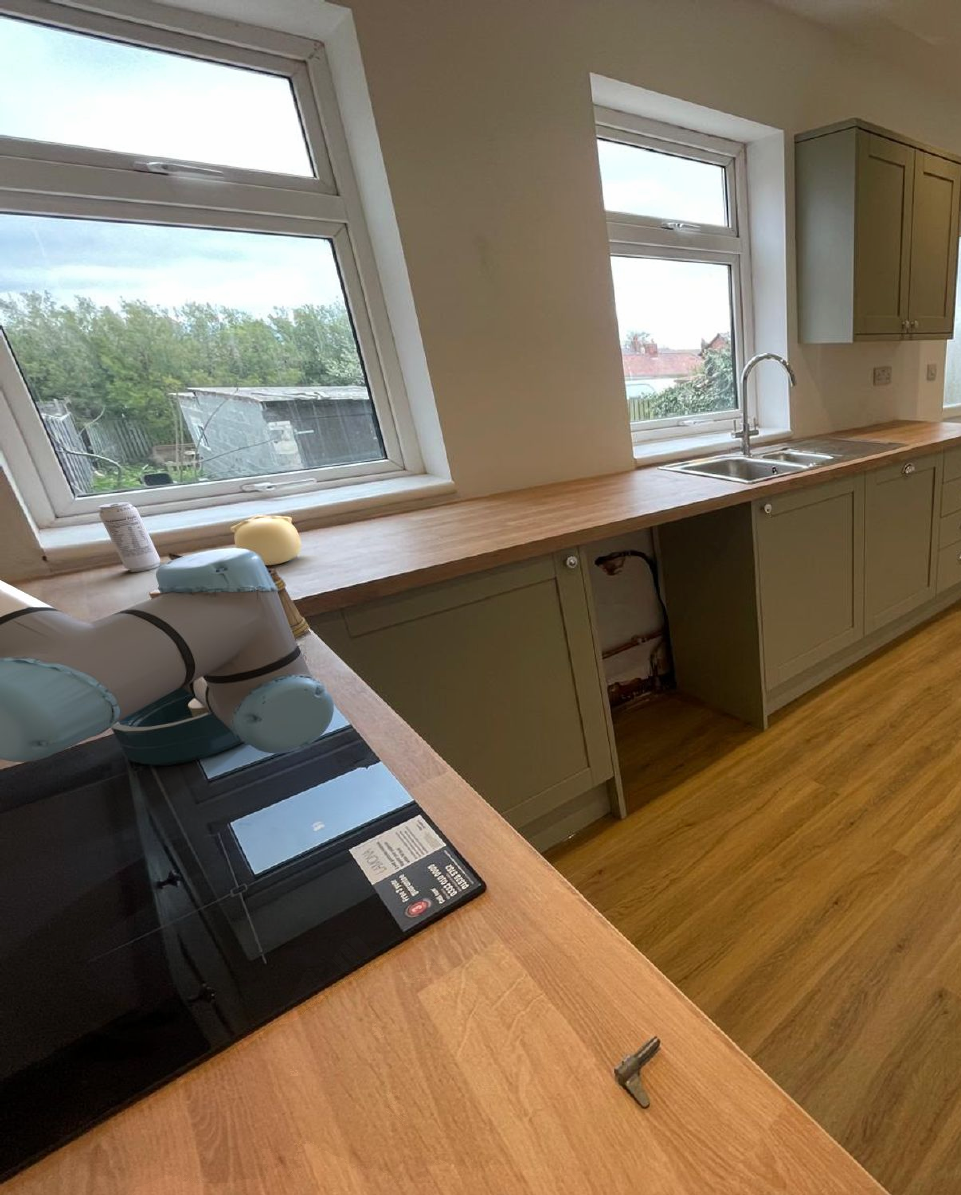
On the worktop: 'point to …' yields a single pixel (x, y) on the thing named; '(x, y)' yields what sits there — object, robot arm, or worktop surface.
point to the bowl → (172, 732)
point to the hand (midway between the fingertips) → (173, 630)
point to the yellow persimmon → (268, 538)
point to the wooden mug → (292, 614)
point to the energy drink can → (129, 536)
